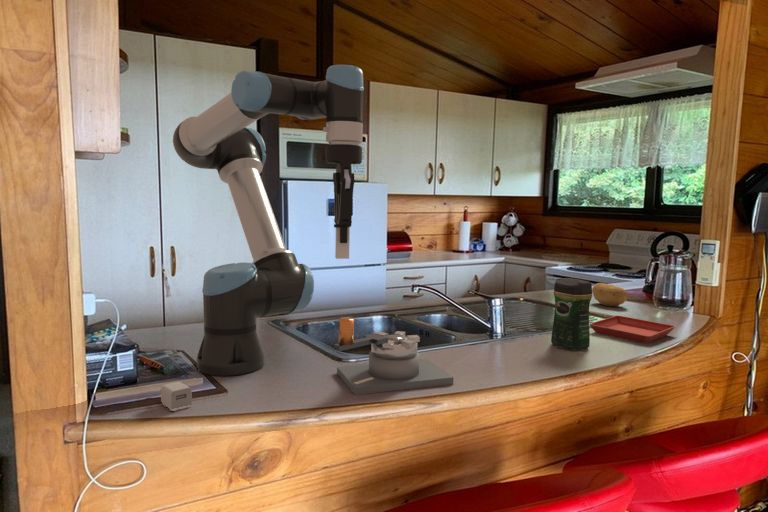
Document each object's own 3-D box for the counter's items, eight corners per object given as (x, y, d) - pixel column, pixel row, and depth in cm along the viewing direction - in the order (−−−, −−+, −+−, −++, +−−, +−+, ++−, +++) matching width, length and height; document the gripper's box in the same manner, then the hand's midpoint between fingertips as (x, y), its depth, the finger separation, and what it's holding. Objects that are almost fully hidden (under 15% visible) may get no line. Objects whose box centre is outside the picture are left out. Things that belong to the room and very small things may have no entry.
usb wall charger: (170, 413, 102) (170, 391, 101) (155, 402, 107) (155, 382, 106) (192, 407, 105) (191, 386, 104) (176, 397, 110) (175, 377, 109)
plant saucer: (648, 347, 153) (649, 335, 153) (587, 334, 167) (588, 323, 166) (675, 336, 165) (676, 325, 165) (616, 325, 179) (617, 315, 178)
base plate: (354, 394, 112) (354, 368, 112) (336, 373, 125) (337, 349, 125) (453, 384, 120) (454, 359, 119) (426, 364, 133) (427, 342, 132)
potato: (615, 310, 200) (616, 288, 199) (585, 303, 213) (586, 282, 212) (634, 308, 204) (635, 286, 203) (603, 301, 217) (605, 281, 216)
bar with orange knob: (394, 343, 129) (395, 303, 128) (428, 354, 122) (429, 311, 120) (320, 361, 115) (320, 315, 114) (353, 374, 107) (354, 325, 106)
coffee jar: (594, 349, 149) (598, 280, 147) (574, 353, 145) (578, 282, 143) (565, 340, 157) (569, 275, 155) (545, 344, 153) (549, 277, 151)
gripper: (322, 145, 120) (321, 254, 123) (329, 141, 108) (328, 262, 111) (356, 147, 122) (354, 254, 125) (367, 142, 109) (365, 262, 112)
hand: (342, 258), depth 118 cm, fingers closed
